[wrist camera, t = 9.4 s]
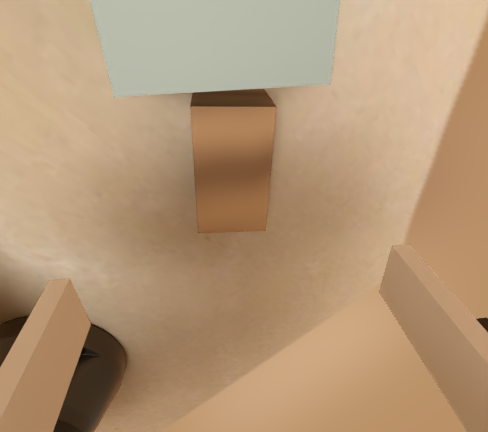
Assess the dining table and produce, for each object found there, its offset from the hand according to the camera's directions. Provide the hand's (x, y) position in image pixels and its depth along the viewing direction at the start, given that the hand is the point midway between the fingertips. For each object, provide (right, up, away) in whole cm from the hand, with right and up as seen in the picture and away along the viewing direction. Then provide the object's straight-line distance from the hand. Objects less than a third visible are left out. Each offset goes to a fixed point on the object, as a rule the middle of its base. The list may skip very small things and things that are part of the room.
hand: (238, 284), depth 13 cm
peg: (-1, +8, +12) cm, 14 cm away
